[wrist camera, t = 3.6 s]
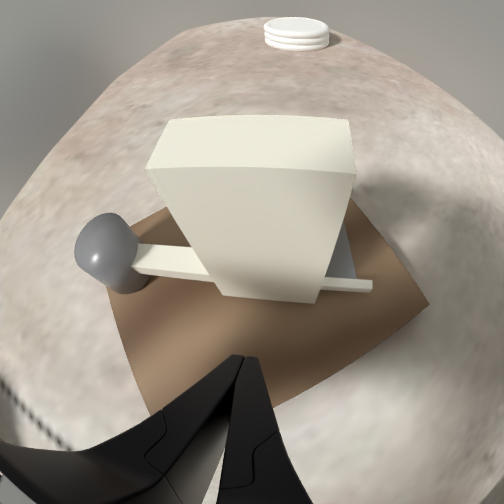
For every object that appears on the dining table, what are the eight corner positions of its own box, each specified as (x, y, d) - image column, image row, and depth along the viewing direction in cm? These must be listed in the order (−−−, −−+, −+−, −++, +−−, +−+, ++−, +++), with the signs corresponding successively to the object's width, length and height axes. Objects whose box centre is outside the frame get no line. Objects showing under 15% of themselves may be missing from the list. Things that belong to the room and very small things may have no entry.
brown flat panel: (419, 310, 15) (431, 303, 14) (176, 445, 13) (165, 450, 12) (301, 158, 22) (302, 143, 20) (107, 254, 20) (96, 244, 18)
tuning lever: (99, 289, 16) (-13, 204, 7) (115, 241, 18) (26, 140, 9) (368, 321, 14) (474, 218, 5) (367, 259, 15) (436, 121, 6)
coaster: (252, 41, 35) (250, 23, 32) (299, 30, 37) (299, 13, 34) (294, 58, 31) (293, 36, 28) (342, 46, 33) (343, 27, 30)
